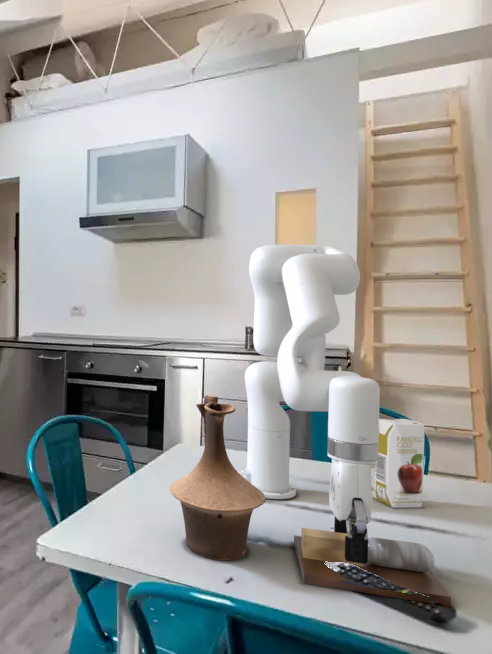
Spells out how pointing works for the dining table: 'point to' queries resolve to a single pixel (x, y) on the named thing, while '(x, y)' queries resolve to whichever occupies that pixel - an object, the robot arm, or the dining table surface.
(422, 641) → the dining table surface
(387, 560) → the wood and marble capsule
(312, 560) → the chopping board
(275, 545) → the dining table surface
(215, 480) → the pitcher
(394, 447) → the juice carton
